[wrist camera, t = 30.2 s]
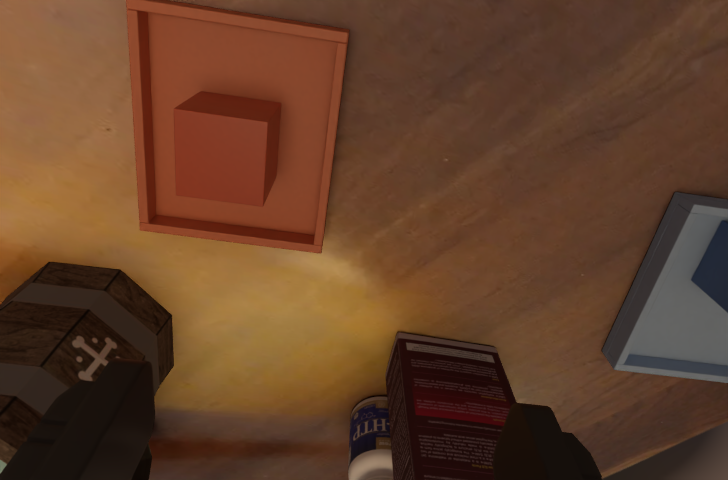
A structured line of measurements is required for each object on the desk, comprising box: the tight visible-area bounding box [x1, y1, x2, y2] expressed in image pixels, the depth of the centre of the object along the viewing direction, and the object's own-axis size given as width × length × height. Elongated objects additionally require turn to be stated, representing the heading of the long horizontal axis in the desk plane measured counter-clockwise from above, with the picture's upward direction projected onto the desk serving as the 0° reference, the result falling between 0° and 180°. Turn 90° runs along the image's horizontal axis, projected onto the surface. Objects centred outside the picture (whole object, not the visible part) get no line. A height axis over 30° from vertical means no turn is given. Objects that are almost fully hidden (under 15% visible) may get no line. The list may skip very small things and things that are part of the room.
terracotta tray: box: [126, 0, 350, 253], centre depth 32 cm, size 14×12×2 cm
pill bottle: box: [348, 397, 394, 480], centre depth 40 cm, size 5×5×9 cm
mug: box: [0, 262, 174, 480], centre depth 35 cm, size 20×14×15 cm
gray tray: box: [602, 192, 728, 383], centre depth 37 cm, size 14×12×2 cm
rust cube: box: [174, 91, 281, 207], centre depth 30 cm, size 5×5×5 cm
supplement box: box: [386, 333, 517, 480], centre depth 34 cm, size 9×5×16 cm, turn 79°
